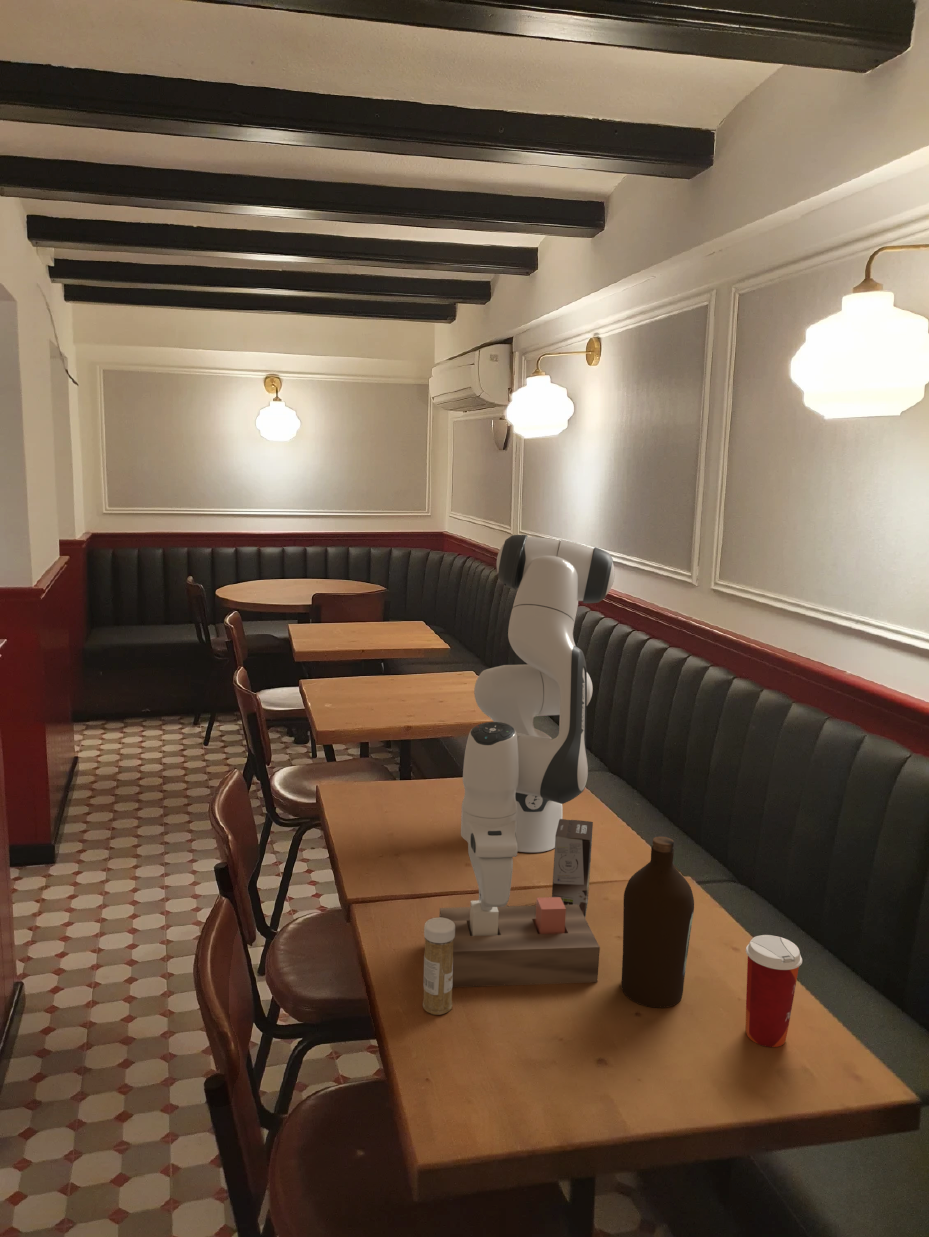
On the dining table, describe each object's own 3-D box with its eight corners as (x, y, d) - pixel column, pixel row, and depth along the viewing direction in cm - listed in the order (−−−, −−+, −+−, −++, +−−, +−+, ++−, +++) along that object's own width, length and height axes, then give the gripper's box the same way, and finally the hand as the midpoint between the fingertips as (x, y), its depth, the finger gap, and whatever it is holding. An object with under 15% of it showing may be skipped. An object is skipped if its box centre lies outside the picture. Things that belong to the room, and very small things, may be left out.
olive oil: (627, 1011, 137) (638, 855, 133) (610, 972, 147) (620, 826, 143) (696, 1010, 138) (709, 855, 133) (674, 971, 148) (686, 826, 144)
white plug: (469, 933, 150) (470, 900, 149) (493, 932, 151) (494, 899, 150) (472, 946, 146) (473, 912, 145) (497, 945, 147) (498, 911, 146)
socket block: (438, 940, 155) (439, 907, 154) (576, 936, 158) (578, 904, 157) (446, 987, 141) (448, 951, 140) (597, 981, 144) (599, 946, 143)
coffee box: (585, 925, 162) (590, 840, 159) (549, 920, 163) (554, 836, 160) (589, 902, 171) (594, 820, 168) (554, 897, 172) (559, 816, 169)
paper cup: (804, 1047, 130) (814, 957, 127) (758, 1055, 128) (767, 963, 125) (771, 1015, 137) (780, 929, 135) (727, 1022, 135) (735, 935, 133)
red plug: (534, 930, 151) (536, 897, 150) (558, 929, 152) (560, 896, 151) (539, 942, 147) (541, 909, 146) (563, 941, 148) (565, 908, 147)
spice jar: (457, 1012, 135) (460, 928, 133) (428, 1018, 133) (431, 933, 131) (444, 995, 139) (447, 913, 137) (417, 1001, 137) (419, 919, 135)
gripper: (461, 801, 155) (458, 878, 157) (477, 852, 135) (474, 938, 137) (497, 801, 155) (494, 877, 158) (519, 851, 135) (515, 937, 138)
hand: (485, 906), depth 147 cm, fingers closed, pressing on white plug
